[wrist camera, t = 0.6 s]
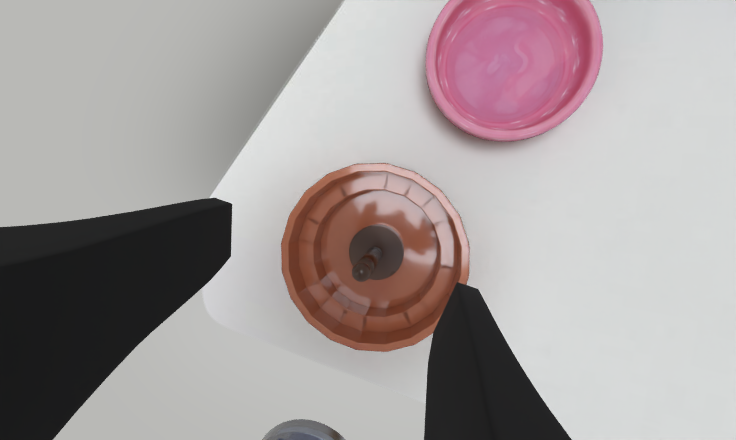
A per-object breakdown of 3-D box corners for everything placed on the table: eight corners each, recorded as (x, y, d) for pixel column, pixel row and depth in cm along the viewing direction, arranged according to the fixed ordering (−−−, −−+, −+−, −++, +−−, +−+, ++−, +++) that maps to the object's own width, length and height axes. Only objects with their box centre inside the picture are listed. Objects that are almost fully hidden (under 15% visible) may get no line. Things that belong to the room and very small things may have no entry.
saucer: (581, 142, 26) (604, 133, 23) (426, 150, 28) (427, 144, 24) (582, -18, 25) (606, -49, 22) (422, 2, 27) (423, -24, 24)
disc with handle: (394, 282, 28) (384, 323, 19) (346, 265, 29) (313, 296, 19) (411, 233, 28) (409, 250, 18) (361, 217, 28) (335, 225, 19)
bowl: (429, 348, 29) (432, 379, 24) (285, 294, 30) (260, 312, 25) (482, 198, 27) (497, 197, 22) (328, 150, 29) (311, 139, 24)
